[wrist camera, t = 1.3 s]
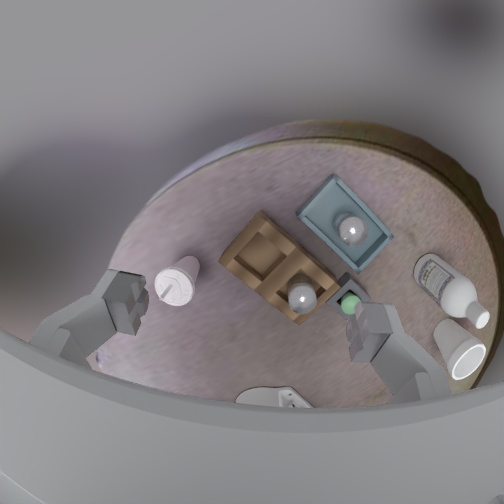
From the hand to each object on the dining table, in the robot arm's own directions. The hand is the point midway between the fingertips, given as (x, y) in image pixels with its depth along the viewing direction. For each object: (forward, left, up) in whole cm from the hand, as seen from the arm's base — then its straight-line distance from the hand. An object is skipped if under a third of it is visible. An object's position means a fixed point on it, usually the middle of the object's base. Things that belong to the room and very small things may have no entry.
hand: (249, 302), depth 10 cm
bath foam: (-33, -11, -36) cm, 50 cm away
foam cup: (-51, -6, -36) cm, 63 cm away
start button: (-23, +4, -35) cm, 42 cm away
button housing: (-23, +4, -36) cm, 43 cm away
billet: (-13, -5, -36) cm, 38 cm away
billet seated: (-15, +8, -34) cm, 38 cm away
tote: (-13, -5, -36) cm, 39 cm away
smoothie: (+2, +19, -36) cm, 41 cm away
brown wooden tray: (-10, +8, -36) cm, 39 cm away
